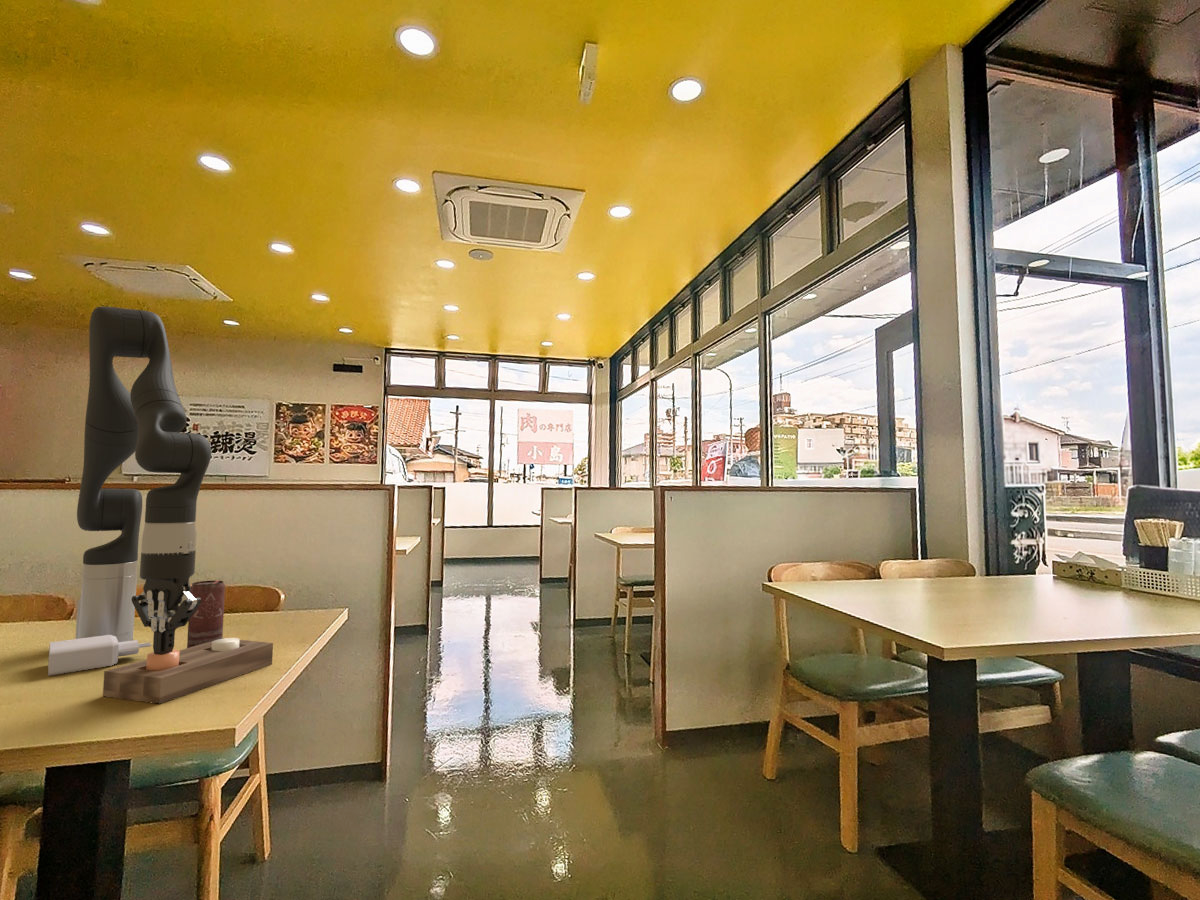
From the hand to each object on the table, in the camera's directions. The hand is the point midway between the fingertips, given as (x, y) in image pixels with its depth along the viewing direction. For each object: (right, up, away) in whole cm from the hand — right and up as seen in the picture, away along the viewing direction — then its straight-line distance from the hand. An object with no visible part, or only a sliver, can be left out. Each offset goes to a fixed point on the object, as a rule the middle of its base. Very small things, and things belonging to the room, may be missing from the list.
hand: (163, 653), depth 99 cm
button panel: (+2, -6, +5) cm, 9 cm away
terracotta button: (0, -4, 0) cm, 4 cm away
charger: (-23, -7, +14) cm, 28 cm away
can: (-9, -8, +24) cm, 27 cm away
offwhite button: (+3, -6, +11) cm, 13 cm away
